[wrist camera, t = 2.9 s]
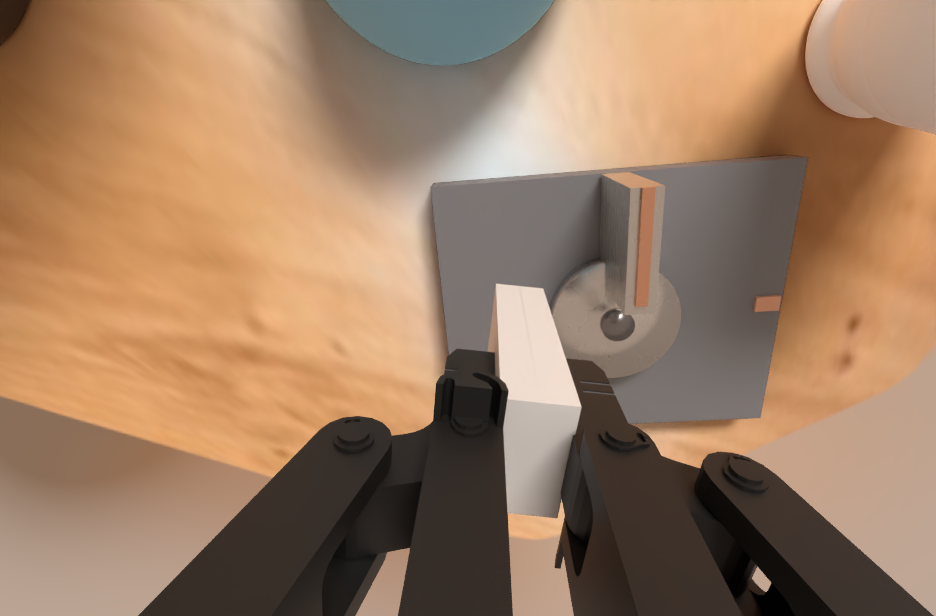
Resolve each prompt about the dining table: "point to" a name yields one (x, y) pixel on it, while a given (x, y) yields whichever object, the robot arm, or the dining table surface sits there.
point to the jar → (875, 60)
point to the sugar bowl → (441, 26)
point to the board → (681, 261)
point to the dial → (621, 285)
